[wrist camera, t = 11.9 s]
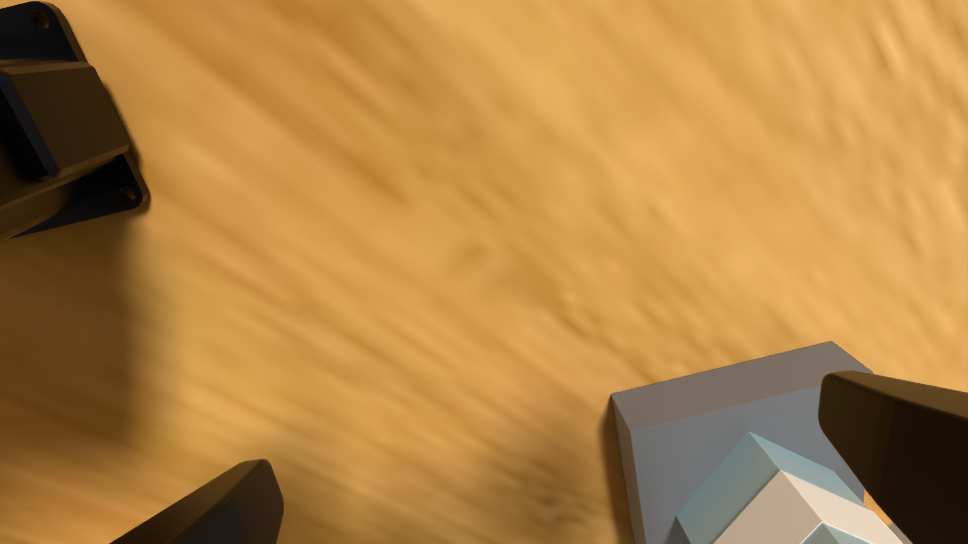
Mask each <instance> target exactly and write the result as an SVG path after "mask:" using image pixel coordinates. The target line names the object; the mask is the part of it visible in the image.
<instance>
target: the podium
mask: <svg viewBox="0 0 968 544" xmlns="http://www.w3.org/2000/svg"><path fill="white" fill-rule="evenodd" d="M845 370H854V371H860V372H865V373H870V374H873V372H872V371H871V370H870V369H868V368H867V367H866V366H864V365H863V364H862V363H860V362H859V361H858V360H856V359H855V358H854V357H852V356H851V355H850V354H848V353H847V352H846V351H844V350H843V349H842V348H841V347H839V346H838V345H837V344H835V343H834V342H833V341H830V342H826V343H821V344H817V345H813V346H809V347H805V348H801V349H796V350H792V351H788V352H784V353H780V354H776V355H772V356H767V357H763V358H759V359H755V360H751V361H747V362H743V363H738V364H734V365H730V366H726V367H722V368H718V369H714V370H709V371H705V372H701V373H697V374H693V375H689V376H685V377H680V378H676V379H672V380H668V381H664V382H660V383H656V384H651V385H647V386H643V387H639V388H635V389H631V390H627V391H622V392H618V393H614V394H611V396H612V402H613V409H614V415H615V422H616V428H617V435H618V441H619V447H620V454H621V460H622V467H623V473H624V480H625V486H626V493H627V499H628V506H629V512H630V518H631V525H632V531H633V538H634V544H691V543H690V541H689V539H688V537H687V536H686V534H685V532H684V530H683V528H682V526H681V524H680V522H679V520H678V518H677V516H676V514H677V513H678V512H679V511H680V510H681V509H682V507H683V506H684V505H685V504H686V503H687V502H688V501H689V499H690V498H691V497H692V496H693V495H694V494H695V492H696V491H697V490H698V489H699V488H700V487H701V485H702V484H703V483H704V482H705V481H706V480H707V478H708V477H709V476H710V475H711V474H712V473H713V472H714V470H715V469H716V468H717V467H718V466H719V465H720V463H721V462H722V461H723V460H724V459H725V458H726V456H727V455H728V454H729V453H730V452H731V451H732V449H733V448H734V447H735V446H736V445H737V444H738V443H739V441H740V440H741V439H742V438H743V437H744V436H745V434H746V433H747V432H748V431H749V432H751V433H753V434H756V435H758V436H760V437H762V438H764V439H766V440H768V441H770V442H773V443H775V444H777V445H779V446H781V447H783V448H785V449H787V450H790V451H792V452H794V453H796V454H798V455H800V456H802V457H804V458H807V459H809V460H811V461H813V462H815V463H817V464H819V465H821V466H824V467H826V468H828V469H830V470H832V471H834V472H835V473H836V474H837V475H838V477H839V478H840V479H841V480H842V481H843V482H844V483H845V484H846V485H847V486H848V487H849V488H850V489H851V491H852V492H853V493H854V494H855V495H856V496H857V497H858V498H859V499H860V500H861V501H862V502H863V500H864V487H863V485H862V484H861V483H860V481H859V480H858V479H857V477H856V476H855V475H854V473H853V472H852V471H851V469H850V468H849V467H848V465H847V464H846V463H845V461H844V460H843V459H842V457H841V456H840V455H839V453H838V452H837V451H836V449H835V448H834V447H833V445H832V444H831V443H830V441H829V440H828V439H827V437H826V436H825V435H824V433H823V431H822V430H821V427H820V425H819V421H818V408H819V399H820V391H821V382H822V379H823V377H824V376H825V375H826V374H827V373H832V372H838V371H845Z"/></svg>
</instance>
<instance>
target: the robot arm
mask: <svg viewBox="0 0 968 544" xmlns="http://www.w3.org/2000/svg"><path fill="white" fill-rule="evenodd" d="M41 12H44V13H45V14H46V15H47V16H48V17H49V21H50V23H49V26H48V27H47V28H46V27H44V26H43V25H42V24H41V22H40V19H39V16H40V13H41ZM129 144H130V141H129V139H128V137H127V135H126V133H125V131H124V128H123V126H122V124H121V122H120V120H119V118H118V116H117V114H116V112H115V110H114V107H113V105H112V103H111V101H110V99H109V97H108V95H107V93H106V91H105V89H104V86H103V84H102V82H101V80H100V78H99V76H98V74H97V72H96V70H95V68H94V67H93V66H91V65H89V64H88V63H87V62H86V60H85V58H84V56H83V54H82V52H81V50H80V47H79V45H78V43H77V41H76V39H75V37H74V35H73V33H72V31H71V29H70V27H69V25H68V22H67V20H66V18H65V16H64V15H63V13H62V12H61V10H60V9H59V8H57V7H56V6H55V5H53V4H51V3H48V2H40V1H31V2H27V3H23V4H18V5H14V6H10V7H6V8H2V9H0V243H1V242H3V241H5V240H7V239H10V238H14V237H18V236H22V235H26V234H31V233H35V232H39V231H43V230H47V229H51V228H55V227H60V226H64V225H68V224H72V223H76V222H80V221H84V220H89V219H93V218H97V217H101V216H105V215H109V214H113V213H118V212H122V211H126V210H130V209H134V208H136V207H138V206H140V205H142V204H143V203H145V201H146V200H147V199H148V190H147V187H146V185H145V183H144V181H143V179H142V177H141V175H140V173H139V171H138V168H137V166H136V164H135V162H134V160H133V158H132V156H131V154H130V152H129V150H128V148H129ZM125 187H128V188H130V189H132V190H133V191H134V193H135V199H132V198H130V197H128V196H127V195H126V193H125ZM818 421H819V425H820V427H821V430H822V431H823V433H824V435H825V436H826V437H827V439H828V440H829V441H830V443H831V444H832V445H833V447H834V448H835V449H836V451H837V452H838V453H839V455H840V456H841V457H842V459H843V460H844V461H845V463H846V464H847V465H848V467H849V468H850V469H851V471H852V472H853V473H854V475H855V476H856V477H857V479H858V480H859V481H860V483H861V484H862V485H863V487H864V488H865V489H866V491H867V492H868V493H869V495H870V496H871V497H872V498H873V500H874V501H875V502H876V503H877V505H878V506H879V507H880V508H881V509H882V510H883V512H884V513H885V514H886V515H887V516H888V517H889V518H890V519H891V520H892V522H893V523H894V524H895V525H896V526H897V527H898V528H899V529H900V530H901V531H902V532H903V534H904V535H906V537H907V538H908V539H909V540H910V541H911V542H912V543H913V544H968V393H966V392H961V391H956V390H951V389H946V388H941V387H936V386H931V385H926V384H920V383H915V382H910V381H905V380H900V379H895V378H890V377H885V376H880V375H875V374H870V373H865V372H860V371H854V370H845V371H838V372H832V373H827V374H826V375H825V376H824V377H823V379H822V382H821V391H820V399H819V408H818ZM283 513H284V501H283V496H282V493H281V490H280V488H279V485H278V482H277V480H276V477H275V474H274V471H273V469H272V466H271V464H270V463H269V461H268V460H266V459H257V460H251V461H244V462H242V463H239V464H238V465H236V466H234V467H233V468H231V469H229V470H228V471H226V472H225V473H223V474H221V475H220V476H218V477H216V478H215V479H213V480H212V481H210V482H208V483H207V484H205V485H203V486H202V487H200V488H199V489H197V490H195V491H194V492H192V493H191V494H189V495H187V496H186V497H184V498H182V499H181V500H179V501H178V502H176V503H174V504H173V505H171V506H169V507H168V508H166V509H165V510H163V511H161V512H160V513H158V514H156V515H155V516H153V517H152V518H150V519H148V520H147V521H145V522H144V523H142V524H140V525H139V526H137V527H135V528H134V529H132V530H131V531H129V532H127V533H126V534H124V535H122V536H121V537H119V538H118V539H116V540H114V541H113V542H111V543H109V544H276V543H277V539H278V535H279V530H280V526H281V522H282V518H283Z"/></svg>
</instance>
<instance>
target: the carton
mask: <svg viewBox="0 0 968 544" xmlns="http://www.w3.org/2000/svg"><path fill="white" fill-rule="evenodd" d="M676 516H677V518H678V520H679V522H680V524H681V526H682V528H683V530H684V532H685V534H686V536H687V537H688V539H689V541H690V543H691V544H903V543H902V542H901V541H900V540H899V539H898V538H897V537H896V535H895V534H894V533H893V532H892V531H891V530H890V529H889V528H888V527H887V526H886V525H885V524H884V523H883V522H882V520H881V519H880V518H879V517H878V516H877V515H876V514H875V513H874V512H872V511H870V510H869V509H868V508H867V507H866V506H865V505H864V503H863V502H862V501H861V500H860V499H859V498H858V497H857V496H856V495H855V494H854V493H853V492H852V491H851V489H850V488H849V487H848V486H847V485H846V484H845V483H844V482H843V481H842V480H841V479H840V478H839V477H838V475H837V474H836V473H835V472H834V471H832V470H830V469H828V468H826V467H824V466H821V465H819V464H817V463H815V462H813V461H811V460H809V459H807V458H804V457H802V456H800V455H798V454H796V453H794V452H792V451H790V450H787V449H785V448H783V447H781V446H779V445H777V444H775V443H773V442H770V441H768V440H766V439H764V438H762V437H760V436H758V435H756V434H753V433H751V432H749V431H748V432H747V433H746V434H745V436H744V437H743V438H742V439H741V440H740V441H739V443H738V444H737V445H736V446H735V447H734V448H733V449H732V451H731V452H730V453H729V454H728V455H727V456H726V458H725V459H724V460H723V461H722V462H721V463H720V465H719V466H718V467H717V468H716V469H715V470H714V472H713V473H712V474H711V475H710V476H709V477H708V478H707V480H706V481H705V482H704V483H703V484H702V485H701V487H700V488H699V489H698V490H697V491H696V492H695V494H694V495H693V496H692V497H691V498H690V499H689V501H688V502H687V503H686V504H685V505H684V506H683V507H682V509H681V510H680V511H679V512H678V513H677V514H676Z"/></svg>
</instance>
